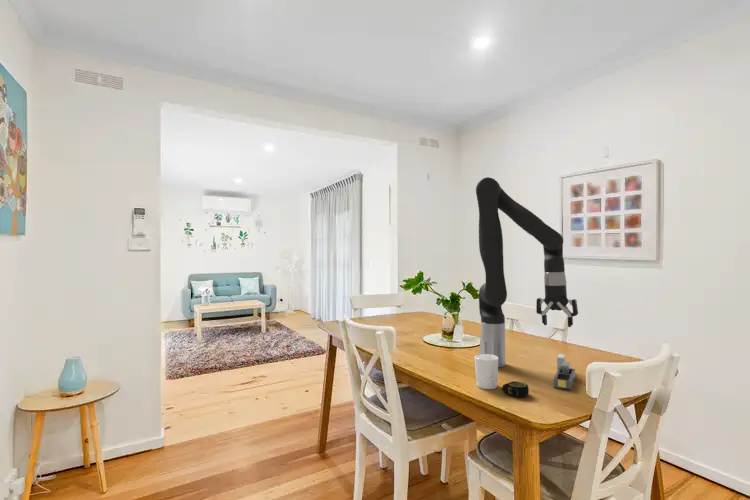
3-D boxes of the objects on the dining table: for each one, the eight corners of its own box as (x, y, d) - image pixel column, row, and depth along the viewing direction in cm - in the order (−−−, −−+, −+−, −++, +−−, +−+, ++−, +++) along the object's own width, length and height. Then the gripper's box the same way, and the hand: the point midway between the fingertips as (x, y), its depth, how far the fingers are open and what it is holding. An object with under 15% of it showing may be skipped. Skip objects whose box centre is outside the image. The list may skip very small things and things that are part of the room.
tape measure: (515, 390, 128) (515, 378, 128) (533, 396, 122) (533, 384, 122) (501, 394, 124) (501, 382, 124) (519, 401, 118) (519, 389, 118)
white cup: (480, 380, 137) (480, 352, 137) (502, 385, 132) (501, 356, 132) (471, 386, 131) (470, 357, 131) (493, 392, 126) (492, 361, 126)
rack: (570, 391, 125) (570, 374, 125) (553, 388, 128) (553, 371, 128) (575, 377, 139) (575, 361, 139) (559, 374, 141) (559, 359, 141)
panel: (563, 374, 142) (563, 358, 142) (557, 373, 144) (557, 357, 144) (565, 370, 147) (565, 354, 147) (559, 369, 148) (558, 353, 148)
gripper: (532, 284, 148) (535, 326, 148) (573, 285, 139) (576, 329, 139) (538, 282, 154) (540, 322, 154) (577, 282, 145) (580, 325, 145)
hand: (557, 325), depth 146 cm, fingers open, 8 cm apart
